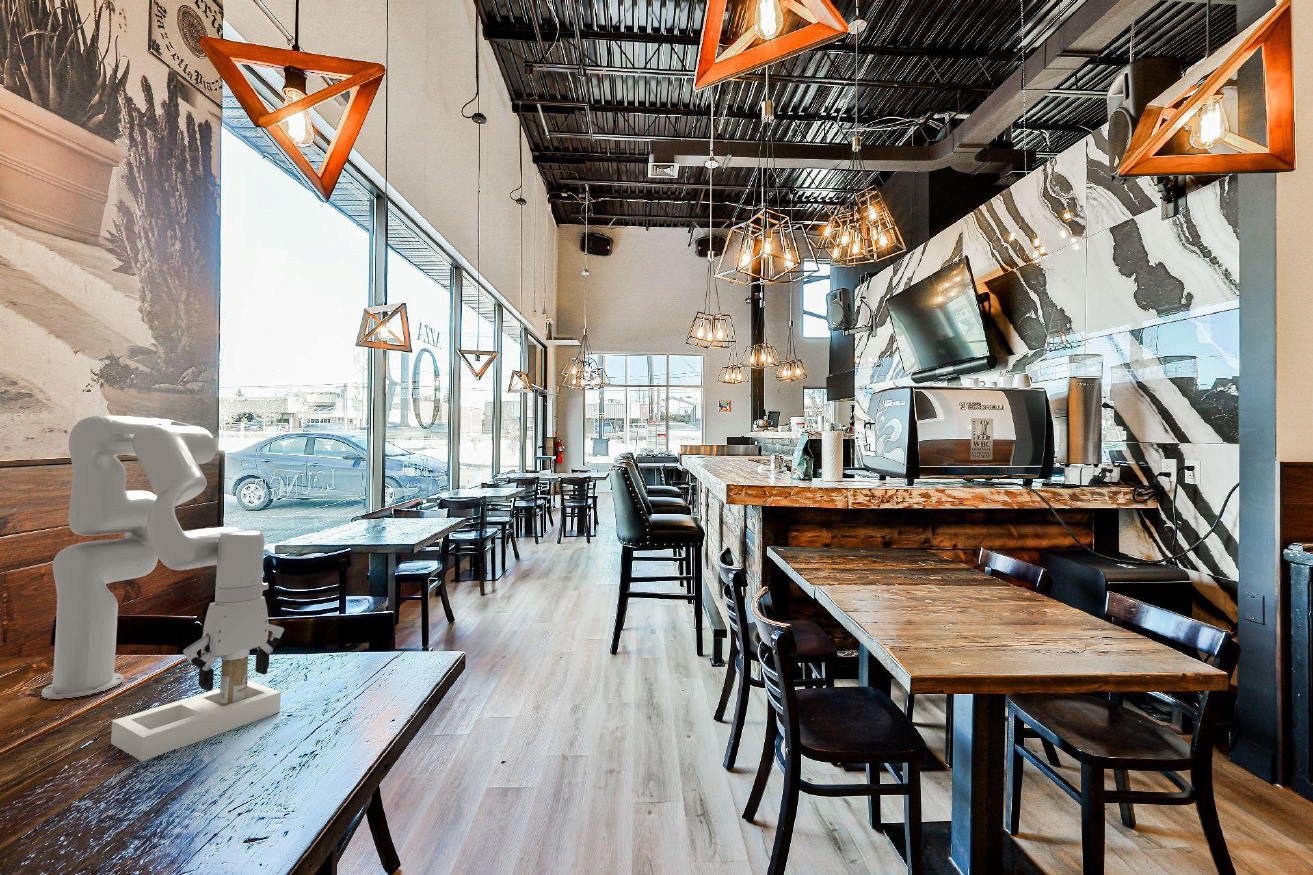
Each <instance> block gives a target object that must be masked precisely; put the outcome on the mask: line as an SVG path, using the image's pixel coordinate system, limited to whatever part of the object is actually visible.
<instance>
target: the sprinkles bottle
mask: <svg viewBox="0 0 1313 875" xmlns="http://www.w3.org/2000/svg"><path fill="white" fill-rule="evenodd" d="M250 650H251V649H250ZM250 650H245V649H243V650H239V651H238V652H236V653H233V654H231V655H227V656H223V657H220V660H221V672H220V673H221V674H220V682H219V683H220V684H219V686H220V688H219V689H220V706H226V705H229V704H232V703H235V702H238V701H241V700H244V699H246V696H247V680H248V676H249V675H248V671H249V670H248V667H249V656H250V652H251V651H250Z"/></svg>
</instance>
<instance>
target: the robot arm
mask: <svg viewBox="0 0 1313 875" xmlns="http://www.w3.org/2000/svg"><path fill="white" fill-rule="evenodd" d="M217 448H218V446H217V442H216V440H215V437H214V435H213V434H212V433H211V432H210V431H208V430H207V429H205V428H204V427H201V426H197V425H193V424H189V423H185V422H182V421H176V420H173V419H165V418H156V417H155V418H154V417H139V416H128V415H104V414H103V415H92V416H89V417H85V418H83V419H81V420H80V421H77V423H76V424H75V425H74V426H73V427H72V429H71V431H70V433H69V438H68V450H69V451H68V452H69V456H70V460H71V465H72V481H71V490H70V499H69V510H68V526H69V528H70V530H71V532H72V533H74V534H75V535H79V536H85V537H86V536H89V537H90V536H95V537H96V536H106V535H116V534H124V537H122V538H113V539H102V540H94V541H93V540H92V541H86V542H85V541H84V542H80V543H79V542H78V543H74V544H71V545H68V546H67V547H65V548H63V549H61V550H59V552H57V554H55V556H54V559H53V562H52V573H53V578H54V582H55V583H54V584H55V588H56V590H55V591H56V617H55V620H56V621H55V622H56V623H55V625H56V626H55V637H54V638H55V640H54V655H53V656H54V657H53V659H54V660H53V671H52V672H53V673H52V683H51V684H49V685H47V686H45V687H44V688H42V690H41V695H42V696H41V697H42V698H43V697H44V698H43V699H45V698H51V699H54V698H68V697H79V696H83V695H89V694H92V693H97V692H100V691H104V692H106V691H105V690H107V689H109V688H112V687H114V686H117V685H118V684H120V683H121V682H122V683H123V682H124V678H125V677H124V675H123V674H121V673H120V672H119V673H118V672H115V668H116V666H115V665H116V664H115V663H116V650H117V647H116V646H117V632H118V631H117V630H118V611H119V605H118V604H119V603H118V600H117V597H116V596H115V595H114V594H113V592H111V590H110V589H109V588H108V587H107V584H111V583H114V582H120V581H126V580H132V579H138V578H142V577H145V576H147V575H149V574H151V572H153V571H154V570H155V569H156V567H157V564H158V561H160V562H161V563H162V564H163V565H164V566H165V567H167V568H168V569H170V570H172V571H173V570H175V571H185V570H192V569H197V568H198V569H200V568H203V567H204V568H205V567H210V566H211V567H212V566H216V577H215V592H214V593H215V594H214V595H215V598H214V602H210V603H209V605H208V608H207V612H206V616H205V618H204V619H205V620H204V624H203V630H202V637H201V638H200V639H198V640H196V641H195V642H194V643H192V644H190V645H188V646H187V647H186V648H184V649H183V650H182V652H183V654H184V656H185V658H186V659H187V660H188V662H189V663H190V664H192V665H193V666H195V667H196V668H198V686H199V687H200V689H202V690H204V691H207V692H210V691H213V689H214V675H215V672H214V669H213V668H212V666H213V665H214V664H215V663H216V661H217V660H218V659H219V658H221V657H223V656H227V655H231V654H233V653H236V652H238V651H239V650H243V649H245V650H253V649H257V650H258V651H257V652H256V653H255V666H254V667H255V668H254V669H255V673H258V674H261V675H263V676H265V675H267V674H268V669H269V667H270V654H271V653H273V651H274V649H275V647H276V646H277V645H278V643H279V642H280V638H281V637H282V636H283V633H284V632H285V628H284V627H282V626H278V625H274V624H271V623H269V615H268V614H269V613H268V606H267V603H266V602H267V600H266V598H265V596H263V594H264V591H265V590H268V589H269V587H270V586H269V583H268V582H265V583H264V581H263V579H264V578H263V576H264V556H265V554H264V553H265V552H264V550H265V535H264V533H262V532H261V531H260V530H253V529H240V528H237V527H235V526H234V527H232V526H218V527H217V526H216V527H207V528H196V529H189V530H188V529H187V530H184V529H182V527H181V525H180V522H179V520H178V518H177V515H176V512H175V508H176V507H177V506H180V505H181V504H184V503H186V502H188V501H191V500H193V499H194V498H196V497H197V496H199V495H200V494H201V493H203V491H204V490H205V489H206V487H207V485H208V482H207V478H206V476H205V474H204V473H203V471H202V468H200V465H203V464H207V463H209V462H210V461H212V460H213V458H215V456H216V453H217ZM117 456H136V457H137V460H138V462H139V463H140V466H141V468H142V469H143V471H144V473H145V474H144V475H146V477H147V479H148V482H149V484H150V485H151V487H152V489H153V492H154V493H153V492H151V491H148V490H137V489H136V490H135V489H134V490H126V485H127V484H126V483H127V471H126V468H125V465H124V464H123V463H122V461H121V460H120V459H119V458H118V457H117ZM269 631H270V632H272V633H271V636H270V638H269ZM200 650H201V652H202V653H203V655H202V657H201V658H200V657H199V656H198V654H197V653H198V651H200ZM122 683H121V684H122ZM121 684H120V685H121ZM118 686H119V685H118ZM118 686H117V687H118ZM112 689H113V688H112ZM107 691H108V690H107ZM97 694H98V693H97ZM89 696H90V695H89ZM79 698H80V697H79Z"/></svg>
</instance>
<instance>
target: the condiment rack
mask: <svg viewBox="0 0 1313 875" xmlns="http://www.w3.org/2000/svg"><path fill="white" fill-rule="evenodd" d="M281 693H282V692H281V691H279V690H276V689H273V688H271V687H268V686H266V685H262V684H260V683H258V682H254V681H252V680H247V696H246V699H244V700H241V701H238V702H235V703H232V704H229V705H226V706H220V688H218V689H214V690H213V689H212V690H210V691H207V692H204V693H200V694H197V695H194V696H190V697H188V698H187V697H186V698H183V699H180V700H176V701H173V702H170V703H166V704H164V705H159V706H156V707H153V708H150V709H147V710H143V711H141V712H137V713H133V714H130V715H126V716H123V717H120V718H117V719H113V720H112V721H111V737H110V738H111V739H110V744H111V745H113V746H114V747H116V748H118V749H120V750H121V751H123V752H125V753H126V754H128V753H129V754H128V755H130V756H131V755H132V757H133V758H135V759H136V760H138V761H139V762H145V761H148V760H151V759H153V758H156V757H159V756H161V755H164V754H163V753H165V754H168V753H170V752H173V751H175V750H174V749H176V750H179V749H181V748H180V747H182V748H184V747H187V746H190V745H192V744H195V743H198V742H201V741H204V740H207V739H209V738H212V737H215V736H218V735H222V734H223V733H226V732H228V731H229V732H230V731H232V730H234V729H238V728H240V727H243V726H245V725H248V724H251V723H254V722H257V721H259V720H263V719H265V718H268V717H271V716H274V715H276V713H277V714H279V713H281V698H282V696H281ZM278 712H279V713H278ZM273 714H274V715H273ZM267 716H268V717H267ZM172 750H173V751H172ZM169 751H170V752H169ZM167 752H168V753H167ZM158 755H159V756H158Z"/></svg>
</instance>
